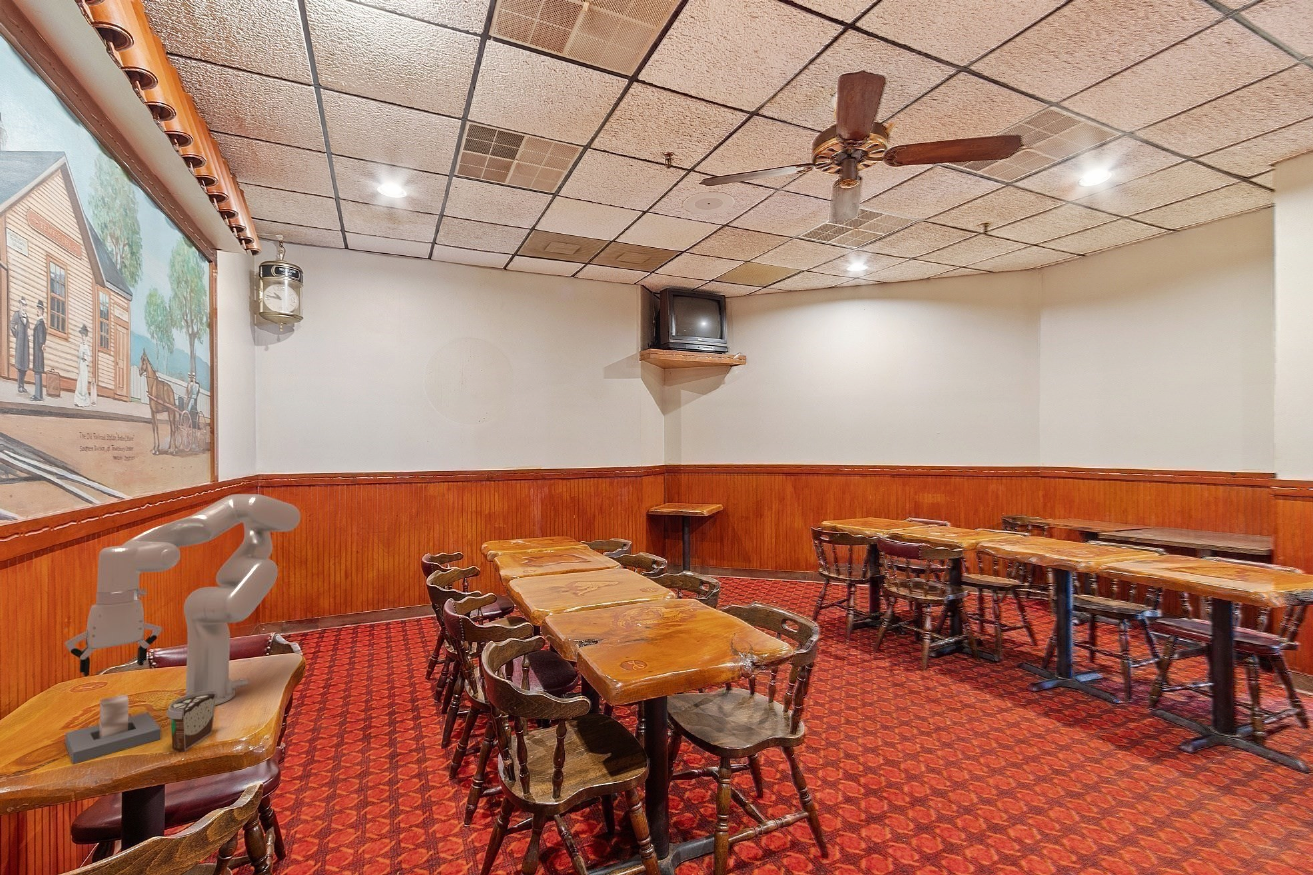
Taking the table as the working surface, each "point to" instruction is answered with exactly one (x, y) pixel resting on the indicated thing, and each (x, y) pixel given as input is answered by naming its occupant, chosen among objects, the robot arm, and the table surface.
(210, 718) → the food container
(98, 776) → the table surface
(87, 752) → the charcoal pocket board
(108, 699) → the off-white block
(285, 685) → the table surface
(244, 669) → the table surface
